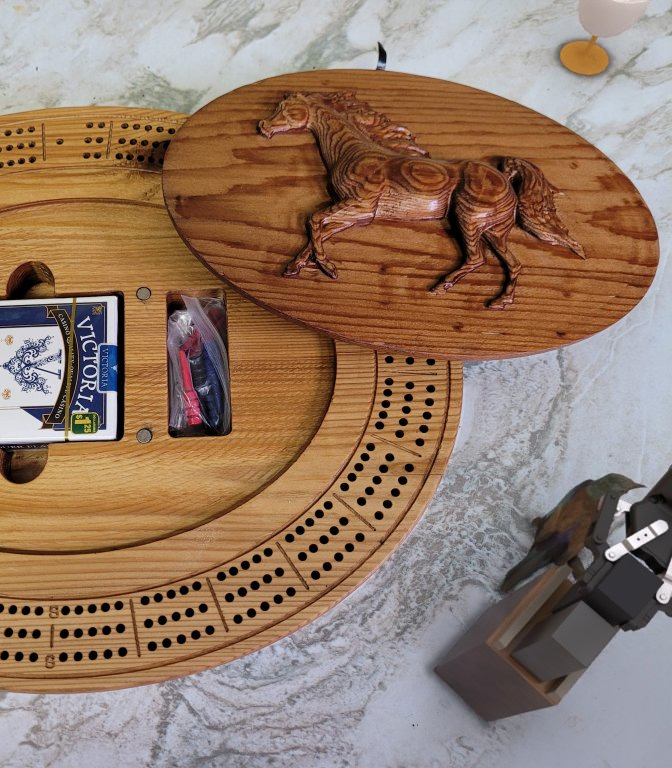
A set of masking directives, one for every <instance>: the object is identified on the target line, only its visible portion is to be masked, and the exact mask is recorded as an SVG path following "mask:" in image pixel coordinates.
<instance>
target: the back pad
mask: <svg viewBox="0 0 672 768" xmlns="http://www.w3.org/2000/svg"><path fill="white" fill-rule="evenodd" d="M612 565H613V567H612V568H611V570H610V571H609V572H608V573H607V574H606V575H605V577H604V578H603V579H602V580H601V581H600V582H599V583H598V585H597V586H596V587H595V588H594V590H593V591H592V592H590V593H589V594H587V595H585V596H583V595H581V594H580V593H579V592H578V591H577V590H578V589H579V588H580V587H581V586H580V585H578V584H577V581H578V580H577V581H575V582H574V585H573V586H572V587H571V588H570V589H569V591H568V592H567V593H566V594H565V595H564V596H563V598H562V599H561V600H560V601H559V602H558V603H557V604H556V606H555V607H554V608H553V609H552V610H551V613H553V614H555V613H557V612H559V611H561V610H563V609H565V608H567V607H569V606H571V605H573V604H575V603H577V602H579V601H581V600H582V601H583V602H585V603H586V604H587V605H588V606H589V607H590V608H592V609H593V610H594V611H595V612H596V613H597V614H599V615H600V616H601V617H602V618H603V619H604V620H606V621H607V622H608V623H609V624H610V625H611V626H613V627H614V626H617V625H619V624H622V623H625V622H627V621H630V620H632V619H635V617H636V616H637V615H638V614H639V613H640V611H641V610H642V609H643V608H644V607H645V605H646V604H647V603H648V602H649V601H650V599H651V598H652V597H653V596H654V595H655V593H656V592H657V591H658V590H659V589H660V587H661V586H662V585H663V584H664V581H663V580H661V579H660V578H659V577H658V576H657V575H655V574H654V573H653V571H652V570H651V569H649V567H648V566H646V565H645V564H643V563H642V562H641V561H639V559H638V558H636V557H635V556H633V555H632V554H631V553H630V552H629V553H628V552H627V553H626V554H624V555H623V556H622V557H621V558H619V559H617V560H616V561H614V562H613V563H612Z"/></svg>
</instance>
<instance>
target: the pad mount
mask: <svg viewBox="0 0 672 768" xmlns="http://www.w3.org/2000/svg"><path fill="white" fill-rule="evenodd" d="M548 569H549V570H548ZM548 569H547V570H548V571H547V570H546V571H547V572H546V573H545V575H544V576H543V577H542V578H541V579H540V580H539V581H538V582H537V584H536V585H535V586H534V587H533V588H532V589H531V590H530V591H529V593H528V594H527V595H526V596H525V597H524V598H523V599H522V600H521V602H520V603H519V604H518V605H517V606H516V607H515V608H514V609H513V611H512V612H511V613H510V614H509V615H508V616H507V617H506V618H505V620H504V621H503V622H502V623H501V624H500V625H499V626H498V627H497V629H496V630H495V631H494V632H493V633H492V634H491V635H490V637H489V638H488V639H487V640H486V641H485V643H486V644H487V645H488V646H489V647H490V648H491V649H492V650H493V651H495V652H496V653H497V654H498V655H499V656H500V657H501V658H502V659H503V660H504V661H505V662H506V663H507V664H509V665H510V666H511V667H512V668H513V669H514V670H515V671H516V672H517V673H518V674H519V675H520V676H522V677H523V678H524V679H525V680H526V681H527V682H528V683H529V684H530V685H531V686H532V687H533V688H535V689H536V690H537V691H538V692H539V693H540V694H541V695H542V696H543V697H544V698H545V699H546V700H548V701H549V702H550V703H551V704H552V705H553V706H552V707H555V706H558V705H559V704H560V702H561V701H562V700H563V699H564V698H565V697H566V695H567V694H568V693H569V692H570V691H571V689H572V688H574V685H575V684H576V683H577V682H578V681H579V680H580V679H581V677H582V676H583V675H584V673H585V672H586V671H587V670H588V669H589V668H590V666H591V665H592V664H593V663H594V662H595V660H596V659H597V658H598V657H599V656H600V654H602V652H603V651H604V649H605V648H606V647H607V646H608V645H609V643H610V642H611V641H612V640H613V639H614V637H615V636H616V635H617V634H618V633H619V632H620V630H622V629H621V628H620V627H619V625H617V626H614V627H613V626H611V625H610V624H609V623H608V622H607V621H606V620H604V619H603V618H602V617H601V616H600V615H599V614H597V613H596V612H595V611H594V610H593V609H592V608H590V607H589V606H588V605H587V604H586V603H585V602H583V601H582V600H581V601H579V602H577V603H575V604H573V605H571V606H569V607H567V608H565V609H563V610H561V611H559V612H557V613H555V614H553V613H551V610H552V609H553V608H554V607H555V606H556V604H557V603H558V602H559V601H560V600H561V599H562V598H563V596H564V595H565V594H566V593H567V592H568V591H569V589H570V588H571V587H572V586H573V585H574V584H575V582H573V581H571V580H570V578H568V577H569V576H570V575H572V571H573V569H571V568H570V567H569V566H568V565H567V563H565V564H564V565H561V566H559V568H556V566H555V565H553V566H551V567H550V568H548Z"/></svg>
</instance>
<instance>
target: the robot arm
mask: <svg viewBox="0 0 672 768" xmlns="http://www.w3.org/2000/svg"><path fill="white" fill-rule="evenodd" d="M622 514H623V515H624V524H625V525H624V528H625V529H624V530H625V539H623V540H622V541H620V542H618V543H616V544H615V545H612V546H610V545H609V543H608V542H607V538H608V535H609V532H610V529H611V526H612V524H613V523H612V520H613V519H615V520H616V519H617V518H618V517H620V516H622ZM611 523H612V524H611ZM583 544H584V546H585V547H584V548H586V549H587V550H589V551H590V552H591V554H592V556H593V560H592V561H591V563H589V565H588V566H587V567H586V568H585V571H584V572H583V573H582V574H581V576H580V577H579V578H578V581H577V584H578V585H580V586H581V587H580V588H579V589H578V590H577V591H578V592H579V593H580V594H581V595H583V596H585V595H587V594H589V593H590V592H592V591H593V590H594V588H595V587H596V586H597V585H598V583H599V582H600V581H601V580H602V579H603V578H604V577H605V575H606V574H607V573H608V572H609V571H610V570H611V568H612V567H613V565H612V563H613V562H614V561H616V560H617V559H619V558H621V557H622V556H623V555H624V554H626V553H627V552H628V553H630V554H631V555H632V556H633V557H634V558H636V559H637V560H640V561H642V562H643V563H644V565H645V566H646V567H647V568H648V569H649V570H650V571H652V572H653V573H654V574H655V575H657V576H658V577H659V578H660V579H661V580H663V581H664V584H663V585H662V586H661V587H660V589H659V590H658V591H657V592H656V593H655V595H654V596H653V597H652V598H651V599H650V601H649V602H648V603H647V604H646V605H645V607H644V608H643V609H642V610H641V611H640V613H639V614H638V615H637V616H636V617H635V619H632V620H630V621H627V622H625V623H622V624H619V627H620V628H621V629H620V630H622V631H623V632H624V633H627V632H629V631H632V632H636V631H639V630H642V629H643V628H646V627H647V625H648V624H649V623H650V622H651V621H652V620H653V618H654V617H655V616H656V614H657V613H658V612H659V611H660V612H663V613H664V614H665V615H666V616H667V617H668V618H672V463H671V465H670V466H669V467H668V469H667V471H666V472H664V474H663V476H662V477H661V478H660V479H659V480H658V481H657V482H656V483H655V484H654V486H653V487H652V488H651V489H650V490H649V491H648V492H647V494H646V495H645V496H644V497H643V498H642V499H641V500H639V501H636V502H634V503H631V502H628V501H626V500H624V499H621V497H620V496H619V494H618V493H617V492H615V491H609V492H608V493H607V494H605V495H604V496H602V497H601V498H600V499H598V501H597V503H596V506H595V509H594V512H593V515H592V518H591V521H590V524H589V527H588V530H587V533H586V536H585V539H584V542H583Z"/></svg>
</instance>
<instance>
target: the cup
mask: <svg viewBox="0 0 672 768" xmlns="http://www.w3.org/2000/svg"><path fill="white" fill-rule="evenodd" d="M652 1H653V0H578V8H577V15H578V16H577V17H578V21H579V23H580V25H581V27H582V28H583V30H584V31H586V33H588V34H589V35H591V38H590V40H589V41H585V40H577V41H571V42H569V43H567V44H565V45H564V46H563V47H562V49H561V50H560V51H559V60H560V61H561V63H562V65H563V66H564V67H565V68H566V69H567V70H569V71H571V72H573V73H575V74H578V75H584V76H593V75H598V74H600V73H602V72H603V71H605V70H606V68H607V67H608V65H609V55H608V54H607V52H606V50H604V49H603V48H602V47H601V46H600V45H598V44H595V43H596V42H597V40H598V39H599V38H603V39H607V38H613V37H617V36H619V35H621V34H624V33H625V32H626V31H628V30H630V29H632V27H634V25H636V23H637V22H638V21H639V20H640V19H641V17H642V16H643V14H645V12H646V10H647V9H648V7H649V6H650V5H651V3H652Z"/></svg>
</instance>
